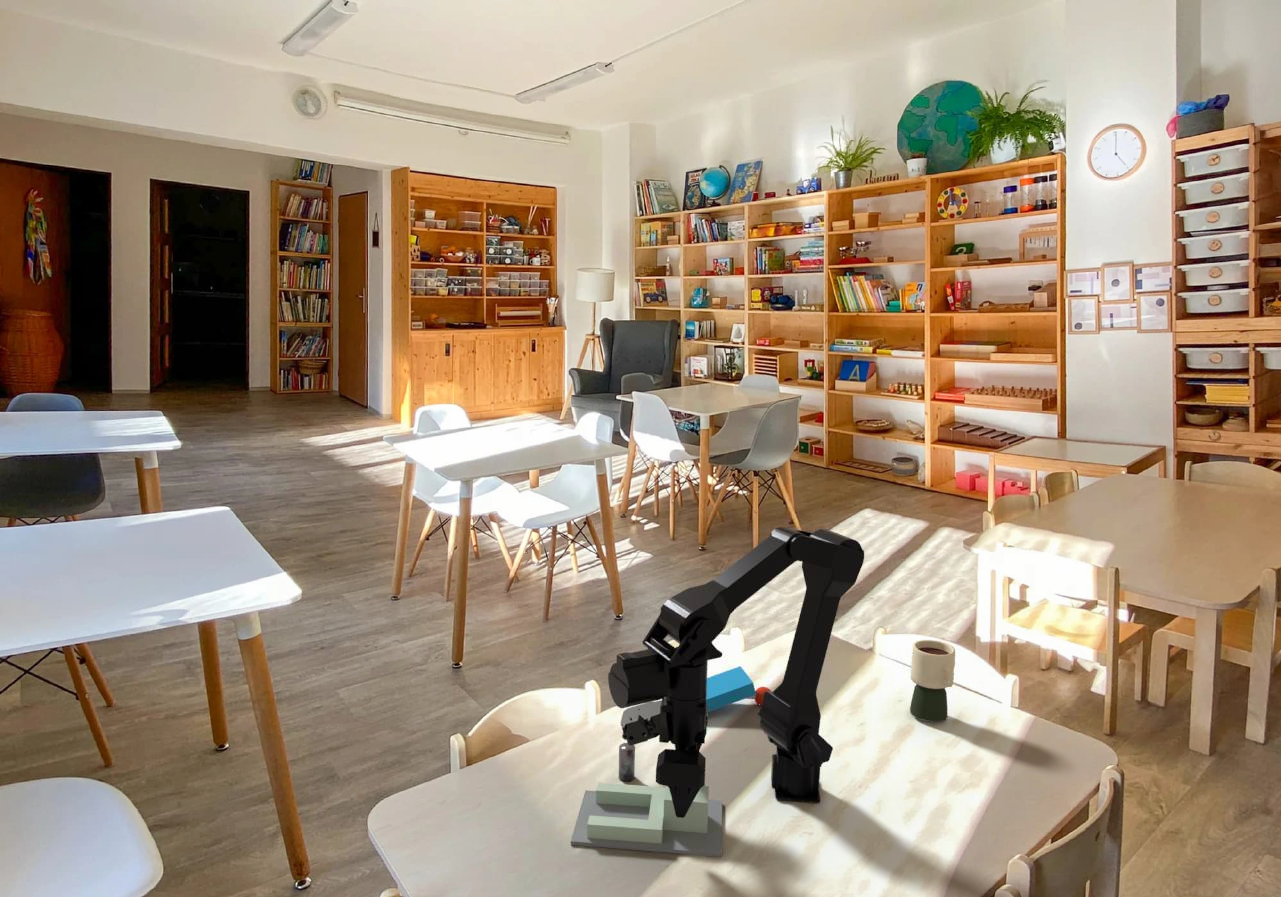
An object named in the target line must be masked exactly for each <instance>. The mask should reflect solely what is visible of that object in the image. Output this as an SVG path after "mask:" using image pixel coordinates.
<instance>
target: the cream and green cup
mask: <svg viewBox="0 0 1281 897" xmlns="http://www.w3.org/2000/svg"><path fill="white" fill-rule="evenodd" d="M911 653H912V654H911V655H912V656H911V662H910V663H911V665H910V680H911V681H912V682H913V684H915V685H914V689H913V693H912V698H911V702H910V706H909V711H910V714H911V715H912V716H913V717H915V718H916V719H918V720H922V721H928V722H929V721H930V722H940V721H946V720H947V719H946V718H948V697H947V690H946V688H952V687H953V686H954V679H955V678H954V676H955V673H954V670H955V665H956V648H955V647H954V646H953V645H951V644H949V643H946V642H943V641H941V640H934V639H921V640H916V641H915V642H913V644H912V652H911Z"/></svg>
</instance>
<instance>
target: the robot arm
mask: <svg viewBox="0 0 1281 897" xmlns="http://www.w3.org/2000/svg"><path fill="white" fill-rule="evenodd" d="M864 560H865V551H864V550H863V547H862V545H861V544H860V542H859V541H857V540H856V539H854V538H851V537H849V536H848V537H847V536H845V535H843V534H840V533H838V532H835V531H832V530H829V529H827V528H819V529H817V530H815V531H814V532H811V531H807V530H806V531H805V530H802V529H793V528H789V527H787V526H779V527H776V528H774V529H773V530H772V531H771V532H770V534H769V536H768V537H767V538H766V539H765V540H763V541H762V542H761V543H758V545H756V547H754V548H753V549H751V550H750V551H749V552H747V553H746V554H745V555H743V556H742V557H740V559H738V560H737V561H735V562H734V563H733V564H732V565H730V566H729V567H728V568H726V569H725V570H724V571H722V572H721V573H720V574H718V575H717V576H715V578H713V579H712V580H711V581H709V582H707V583H705V584H701V585H695V586H691V587H689V588H686V589H684V590H682V591H681V592H679V593H677V594H675V595H673V596H672V597H670V598H668V599H667V600H666V601H665V602H664V603H663V604H662V605H661V607H660V613H659V615H658V617H657V618H656V619H655V622H654V623H653V624H652V626H651V627H650V630H649V631H647V634H646V636H645V637H644V638H643V640H642V645H643V646H644V647H646V648H647V649H643V650H639V651H638V650H637V651H634V652H621V653H617V654H616V662H614V663H613V664H612V665H611V667H610V670H609V672H608V673H607V674H608V675H607V679H608V680H607V682H608V688H609V693H610V695H611V698H612V700H613V702H614V704H615V706H617V707H618V708H620V709H625V710H623V712H622V715H621V720H620V726H621V729H622V736H621V737H622V740H624V741H626V743H628V744H629V745H634V746H635V745H637V744H640V743H641V744H642V743H644V742H648V741H649V740H652V739H654V738H655V739H656V738H657V737H658V736H659V737H658V738H659V739H658V741H659V743H663V744H668V743H671V744H672V745H674V749H673V748H672V749H671V748H665V749H664V750H662V751H661V752H660V753H659V754H657V761H656V766H655V783H656V784H658V785H659V786H663V787H664V786H665V787H666V786H667V787H668V788H669V790H670V793H671V797H672V801H673V806H674V810H675V814H676V817H678V818H684V817H685V815H686V813H687V812H688V810H689V808H690V806H691V804H692V802H693V800H694V799H695V797H696V795H697V793H698V792H699V790H700V788H702V787H703V786H706V785H705V784H706V783H705V781H706V762H707V760H706V759H707V758H706V757H705V756H704V755H703V754H702V753H701V752H700V750H701V748H702V746H703V744H706V743H705V742H706V736H707V731H708V730H707V729H708V728H707V727H708V720H709V717H708V716H709V712H708V706H707V705H706V698H707V678H708V663H709V662H708V661H711V660H714V659H715V660H716V659H719V658H721V657H722V656H723V652H722V651H720V650H719V649H718V648H717V647H716V646H715V645H714V644H713V642H714V641H715V640H716V638H718V637H719V635H720V634H721V633H722V632H723V631H724V630H725V629H726V626H727V623H729V619H730V616H731V615H732V613H733V612H734V611H735V610H736V609H738V608H739V607H740V606H741V605H742V604H743V603H745V602H746V601H748V599H750V598H751V597H753V595H755V594H756V593H758V592H759V591H760V590H762V589H764V587H765V586H766V585H767V584H769V583H771V582H772V581H773V580H774V579H775V578H777V577H778V576H779V575H781V573H783V572H784V571H785V570H787V569H788V568H789V567H790V566H792V565H793V564H794V563H796V562H801V570H802V573H803V574H802V575H803V578H804V579H803V580H804V583H805V593H804V597H803V601H802V606H801V609H800V613H799V617H798V621H797V625H796V627H795V628H796V629H795V633H794V637H793V639H792V640H793V641H792V644H791V647H790V648H791V649H790V653H789V656H788V659H787V664H786V668H785V671H784V676H783V679H782V682H781V683H780V684H779V685H778V686H777V687H776V688H775V689H774V690H773V691H772V690H771V691H768V690H767V691H766V692H765V693H764V697H763V704H762V706H760V709H759V712H758V713H757V716H758V717H759V718H760V720H759V726H760V728H761V729H762V732H763V733H764V735H766V736H767V739H768V742H769V743H771V744H773V745H774V746H776V747H775V748H776V749H775V750H776V752H775V754H774V753H773V754H772V755H771V767H770V768H771V771H770V772H771V773H770V781H771V782H770V784H771V788H772V789H773V790H774V798H775V799H776V800H780V801H792V802H793V801H794V802H807V803H820V802H821V793H820V781H821V780H820V776H821V768H822V766H823V764H824V763H827V762H829V761H830V759H831V756H832V753H833V750H834V747H833V746H832V745H831V744H830V743H829V742H828V741H826V739H825V738H823V736H822V735H820V734H819V733H820V727H821V726H820V724H821V719H822V718H821V710H820V706H819V700H818V697H817V691H818V687H819V682H820V679H821V678H820V677H821V674H822V670H823V667H824V662H825V659H826V656H827V651H828V647H829V643H830V639H831V635H832V632H833V628H834V624H835V620H836V617H837V613H838V608H839V604H840V602H841V598H842V597H843V596H844V595H845V594H846V593H847V592H848V591H849V590H850V589H852V587H853V586H854V585H855V584H856V582H857V580H858V577H859V575H860V572H861V570H862V567H863V565H864ZM666 637H669V638H670V639H672V640H673V641H674V642H676V643H677V644H678V646H676V647H675V646H673V645H672V644H671V643H669V642H668V641H667V640H665V639H666Z"/></svg>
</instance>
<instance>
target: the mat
mask: <svg viewBox="0 0 1281 897" xmlns="http://www.w3.org/2000/svg"><path fill="white" fill-rule="evenodd" d="M649 811H650V807H641V806H628V805H614V804H601V803H596V790H588V789H587V790H584V794H583V798H582V801H581V804H580V808H579V811H578V816H577V819H576V821H575V825H574V829H573V833H572V836H571V839H570V845H571V846H585V847H593V848H594V847H596V848H597V847H598V848H607V849H610V848H611V849H620V850H631V851H645V852H646V851H647V852H658V853H670V854H682V855H693V856H694V855H695V856H705V857H706V856H707V857H718V858H721V857H722V854H723V853H722V851H723V848H722V846H723V843H722V841H723V840H722V839H723V800H721V799H710V798H708V826H707V833H698V832H685V831H672V830H663V835H662V844H660V843H647V842H634V841H621V840H609V839H596V838H587V823H588V820H589V816H590V815H591V816H604V817H617V818H631V819H644V820H648V818H649Z"/></svg>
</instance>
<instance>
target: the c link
mask: <svg viewBox="0 0 1281 897" xmlns="http://www.w3.org/2000/svg"><path fill="white" fill-rule="evenodd" d="M596 785H597V786H596V790H595V791H596V803H601V804H614V805H628V806H641V807H650V811H649V818H648V820H644V819H631V818H617V817H604V816H591V815H590V816H589V820H588V823H587V838H596V839H609V840H621V841H634V842H647V843H660V844H662V835H663V830H672V831H685V832H698V833H707V826H708V799H709V798H710V797H709V794H710V793H709V792H710V786H708V785H705V786H703V787H702V788H700V790H699V792H698V793H697V795H696V797H695V799H694V800H693V802H692V804H691V806H690V808H689V810H688V812H687V813H686V815H685V817H684V818H678V817H676V814H675V810H674V806H673V801H672V797H671V793H670V790H669V788H668V787H667V786H665V787H664V786H652V785H651V786H649V785H637V784H635V785H634V784H623V783H622V784H621V783H607V782H597V784H596Z"/></svg>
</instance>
